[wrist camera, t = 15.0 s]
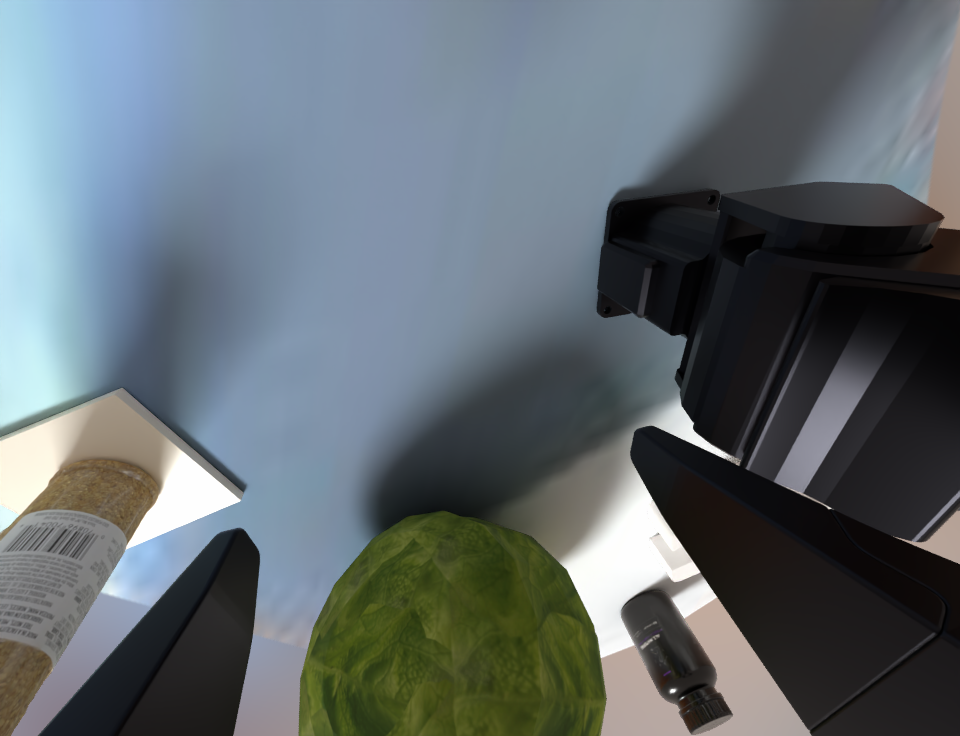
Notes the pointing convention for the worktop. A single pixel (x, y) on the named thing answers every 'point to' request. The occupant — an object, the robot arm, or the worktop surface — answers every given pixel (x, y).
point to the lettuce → (453, 639)
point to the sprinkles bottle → (61, 568)
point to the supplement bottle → (675, 660)
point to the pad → (118, 437)
